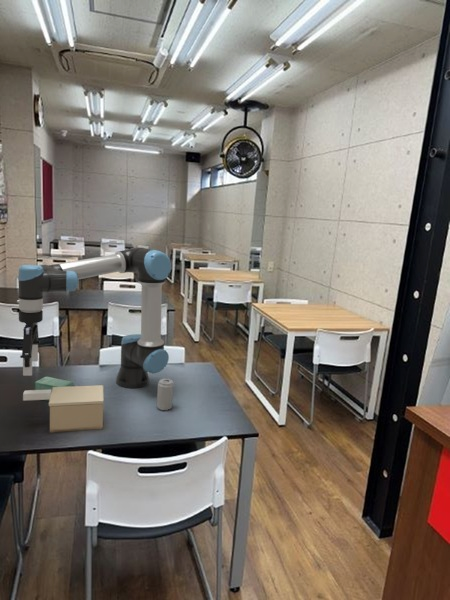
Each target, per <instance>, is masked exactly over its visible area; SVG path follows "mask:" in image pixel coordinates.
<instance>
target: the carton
mask: <svg viewBox="0 0 450 600" xmlns="http://www.w3.org/2000/svg"><path fill="white" fill-rule="evenodd" d="M103 423H104V403H103V404H84V405H64V406H49V433H51V434H52V433H65V432H79V431H93V430H103V427H104V426H103Z"/></svg>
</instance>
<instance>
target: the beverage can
mask: <svg viewBox="0 0 450 600" xmlns="http://www.w3.org/2000/svg"><path fill="white" fill-rule="evenodd" d="M156 393H157V394H156V408H157V409H158V410H159V411H163V410H165V411H168V409H169V410H170V409H172V408H173V396H174V395H173V393H174V382H173V380H172V379H171V378H161V379H159V381H158V382H157V392H156Z"/></svg>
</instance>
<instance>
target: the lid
mask: <svg viewBox="0 0 450 600" xmlns="http://www.w3.org/2000/svg"><path fill="white" fill-rule="evenodd" d="M22 393H23V394H22V401H41V400H42V401H47V399H50V401H48V407H50V406H64V405H84V404H103V405H104V384H103V385H102V384H101V385H99V384H98V385H97V384H96V385H75V386H74V385H73V386H68V387H53V389H52V393H51V389H50V390H35V389H29V390H24V391H23V392H22Z"/></svg>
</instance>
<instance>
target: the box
mask: <svg viewBox="0 0 450 600" xmlns="http://www.w3.org/2000/svg"><path fill="white" fill-rule="evenodd" d="M68 386H74V381H71V380H68V379H67V380H65V379H60V378H55V377H51V376H44V377H41V379H38V380H36V381H35V382H34V390H50V389H51V393H52V389H53V387H68ZM46 401H48V402H49V401H50V399H47V400H46Z"/></svg>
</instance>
